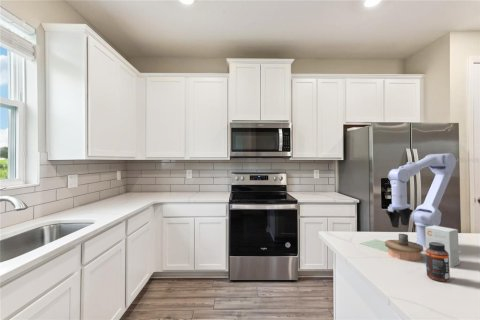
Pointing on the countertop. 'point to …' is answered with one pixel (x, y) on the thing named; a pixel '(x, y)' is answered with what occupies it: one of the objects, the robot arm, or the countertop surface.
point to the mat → (376, 245)
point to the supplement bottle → (437, 262)
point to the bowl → (404, 255)
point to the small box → (444, 241)
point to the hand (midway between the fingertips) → (399, 226)
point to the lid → (404, 245)
